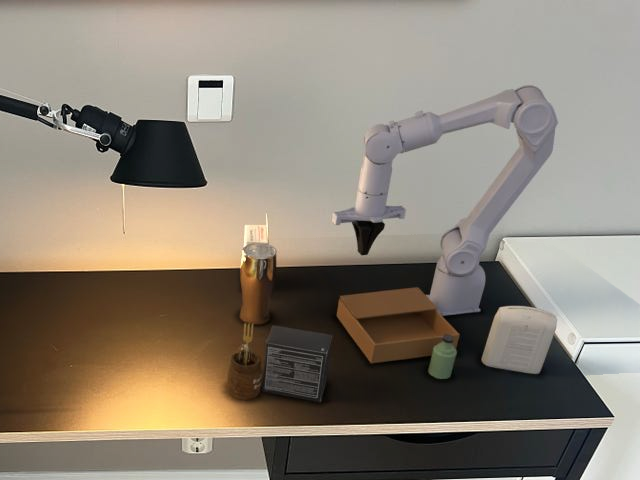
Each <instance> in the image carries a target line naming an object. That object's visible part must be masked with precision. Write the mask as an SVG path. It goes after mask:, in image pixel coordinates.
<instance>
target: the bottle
mask: <svg viewBox="0 0 640 480" xmlns="http://www.w3.org/2000/svg"><path fill="white" fill-rule="evenodd" d="M453 342H454V336H452V335H450V334H444V335H443V336H442V343H439V344H438V345H436V346H434V348H433V352H432V356H431V357H430V361H429V363H428V364H429V365H428V369H427V372H428V374H429V375H430V376H431V377H434V379H439V380H445V379H449V378H451V376H452V373H453V369H454V366H455V361H456V358H457V354H458V350H457V348H456V349H455V348H454V346H453V345H452V343H453Z"/></svg>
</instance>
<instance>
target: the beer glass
mask: <svg viewBox="0 0 640 480" xmlns="http://www.w3.org/2000/svg"><path fill="white" fill-rule="evenodd" d="M277 252H278V250H277V248H275V246H273V245H271V244H269V245H268V244H264V243H252V244H248V245H246V246H245V247H244V246H243V248H242V253H241V259H240V266H239V267H240V268H239V278H240V288H241V295H242V303H241V308H240V313H239V318H240V320H241V321H242V322H244V324H245V323H246V324H247V325H248V324H250V325H252V324H253V326H255V325H256V326H258V325H263V324H266V323H267V322H269V320H270V318H271V313H270V299H271V295H272V292H273V289H274V284H275V280H276V274H277V262H278V261H277V258H278V257H277V254H278V253H277Z"/></svg>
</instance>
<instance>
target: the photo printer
mask: <svg viewBox="0 0 640 480" xmlns="http://www.w3.org/2000/svg"><path fill="white" fill-rule="evenodd" d="M557 321H558V319H557V315H556V314H554V313H552V312H550V311H547V310H544V309H542V308H537V307H533V306H525V305H505V306H500V307H498V310H497V312H496V313H495V315H494V317H493V320H492V323H491V327H490V329H489V333H488V336H487V340H486V343H485V346H484V349H483V352H482V355H481V363H482V364H483V365H485V366H486V367H490V368H495V369H500V370H507V371H513V372H519V373H525V374H532V375H533V374H534V375H538V374H540V373H541V371H542V368H543V366H544V363H545V360H546V357H547V355H548V353H549V349H550V346H551V344H552V341H553V338H554V336H555V333H556V330H557Z"/></svg>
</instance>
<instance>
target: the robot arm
mask: <svg viewBox="0 0 640 480" xmlns="http://www.w3.org/2000/svg"><path fill="white" fill-rule="evenodd" d="M489 123H491V124H494V125H496V126H499V127H501V128H504V129H507V130H510V127H511V124H512V123H513V125H514V129H515V131H516V137H517V139H518V144H519V146H518V148H517V149H516V151H515V153H514V154H512V156H511V158H510V159H508V161H507V163H506V164H505V166H504V167H503V168H502V169H501V170H500V172H499V174H498V175H497V177H496V178H495V179H494V181H493V182H492V183H491V185H489V187H488V188H487V190H486V191H485V193H484V194H483V195H482V197H481V198H480V199H479V201H478V202H477V203H476V205H475V206H474V207H473V209H472V210H471V212H470V213H469V214H468V216H467V217H465V218H461V219H460V220H459V221H458V222H457V223H456V224H455V226H453V227H452V228H450V229H449V230H447V231H445V232H444V233H443V235H442V236H441V238H440V248H441V250H442V255H441V257H440V258H439V259H438V260H437V262H436V267H435V271H434V274H433V280H432V284H431V288H430V292H429V294H425V295H426V296H427V297H428V298H429V299H430V301H431V302H432V303H433V304H434V305H435V306H436V307H437V308H438V309H437V311H438V312H439V313H440V314H441V315H442V316H443V317H444V316H453V315H462V314H470V313H480V312H481V308H479V307H480V304H481V301H482V296H483V293H484V289H485V285H486V273H485V270H484V267H482V266H481V265H480V260H481V256H482V255H483V253H484V251H485V250H486V249H487V245H488V241H489V237H490V234H491V233H492V232H493V231H494V229H495V228H496V227H497V225H498V224H499V223H500V221H502V219H503V218H504V217H505V215H506V214H507V212H508V211H509V210H510V209H511V207H512V206H513V205H514V203H515V202H516V201H517V199H518V198H519V197H520V195H521V194H522V193H523V192H524V191H525V189H526V188H527V187H528V185H529V184H530V183H531V182H532V180H533V179H534V177H536V175H537V173H538V172H539V171H540V170H541V168H542V167H543V166H544V164H545V163H546V162H547V161H548V159H549V158H550V156H551V155H552V154H553V150H554V142H555V134H556V128H557V126H558V124H559V119H558V117H557V113H556V112H555V108H554V106H553V105H552V103H550V102H549V101H548V100H547V98H546V96H545V95H544V92H542V90H541V89H540V88H539V87H538V86H535V85H533V84H532V85H530V84H526V85H521V86H519V87H517V88H515V89H514V88H511V89H506V90H503V91H500V92H499V93H497V94H495V95H492V96H489V97H487V98H484V99H481V100H478V101H475V102H473V103H470V104H467V105H464V106H462V107H459V108H456V109H454V110H451V111H447V112H445V113H442V114H440V115H439V114H435V113H434V112H432V111H427V112H424V111H423V110H418V111H416V112H415V113H414V116H411V117H408V118H404V119H401V120H398V121H395V120H391V121H388V124H384V123H379V124H375V125H372V126H371V127H370V129H369V130H367V131H366V133H365V135H364V136H363V144H364V155H363V156H362V164H361V167H360V172H359V178H358V185H357V192H356V198H355V206H353V207H350V208H346V209H343V210H340V211H333V212H332V216H331V222H332V223H333V224H334V225H335V226H340V225H341V224H347V223H351V225H352V227H353V230H354V233H355V238H356V246H357V253H358V254H359V255H360V256H368V255H369V253H370V251H371V249H372V247H373V245H374V243H375V241H376V239H377V238H378V237H379V235H380V234H381V233H382V232H383V231H384V230H385V228H386V227H385V226H386V223H385V222H384V221H383V220H387V219H397V218H398V219H399V220H404V219H405V218H406V211H407V209H406V208H405V207H404V206H402V205H387V200H388V196H389V191H390V190H389V189H390V184H391V179H392V173H393V162H394V161H393V160H394V159H395V158H396V157H397V156H398V154H404V153H407V152H410V151H414V150H418V149H421V148H424V147H428V146H431V145H434V144H437V143H438V141H439V140H440V139H441V137H442V136H443V135H445V134H448V133H453V132H457V131H461V130H464V129H469V128H472V127H476V126H481V125H485V124H489Z"/></svg>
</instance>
